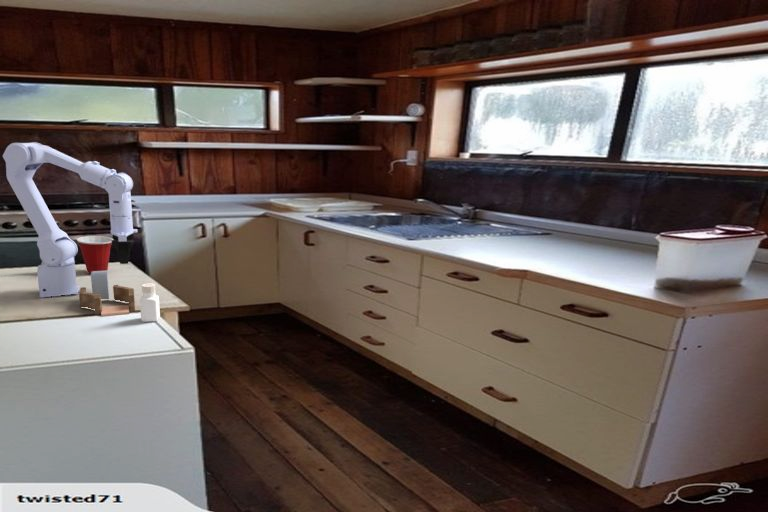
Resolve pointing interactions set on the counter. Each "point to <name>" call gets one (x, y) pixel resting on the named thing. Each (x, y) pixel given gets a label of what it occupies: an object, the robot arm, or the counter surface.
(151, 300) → the pepper shaker
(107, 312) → the coaster
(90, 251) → the plastic cup
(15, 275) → the counter surface
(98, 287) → the slate block
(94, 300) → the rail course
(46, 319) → the counter surface
